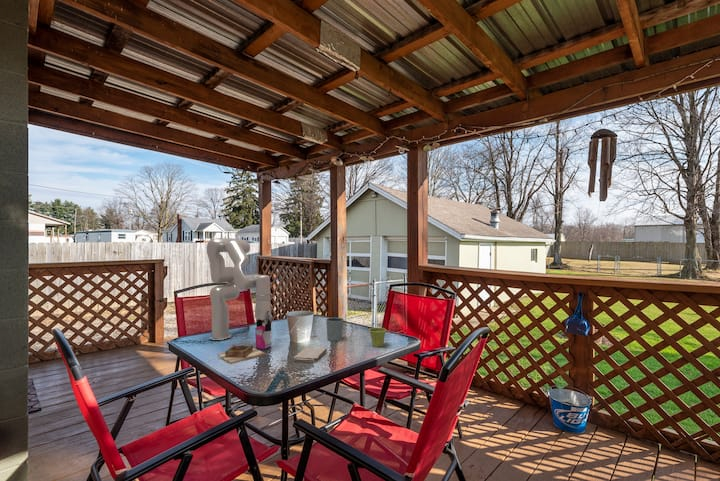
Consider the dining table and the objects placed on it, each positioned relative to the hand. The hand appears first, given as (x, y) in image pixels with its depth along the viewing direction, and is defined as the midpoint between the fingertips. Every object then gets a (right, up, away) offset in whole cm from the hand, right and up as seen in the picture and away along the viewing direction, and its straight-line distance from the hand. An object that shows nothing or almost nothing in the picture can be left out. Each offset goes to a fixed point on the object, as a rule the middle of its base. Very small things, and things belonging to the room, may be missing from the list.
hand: (263, 329), depth 183 cm
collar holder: (-9, -10, -13) cm, 18 cm away
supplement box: (0, -10, 0) cm, 10 cm away
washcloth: (+27, -10, -15) cm, 33 cm away
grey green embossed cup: (+37, -10, +16) cm, 42 cm away
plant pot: (+62, -10, +3) cm, 63 cm away
